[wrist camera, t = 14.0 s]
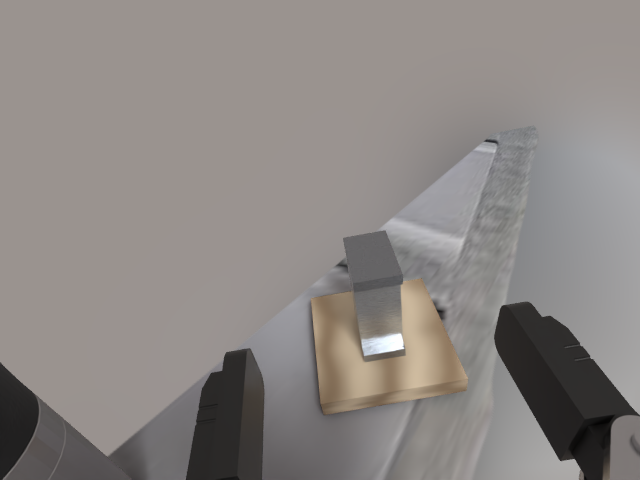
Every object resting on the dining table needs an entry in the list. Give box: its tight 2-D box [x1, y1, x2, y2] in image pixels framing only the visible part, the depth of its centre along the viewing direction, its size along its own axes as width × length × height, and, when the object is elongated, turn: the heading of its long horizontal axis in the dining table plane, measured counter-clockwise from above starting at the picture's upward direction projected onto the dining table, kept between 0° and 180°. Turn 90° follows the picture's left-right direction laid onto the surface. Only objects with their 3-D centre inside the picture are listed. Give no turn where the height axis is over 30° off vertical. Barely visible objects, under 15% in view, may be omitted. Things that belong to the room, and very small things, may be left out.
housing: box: [343, 231, 406, 362], centre depth 39 cm, size 4×7×12 cm, turn 4°
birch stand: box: [311, 278, 468, 415], centre depth 44 cm, size 15×15×3 cm
